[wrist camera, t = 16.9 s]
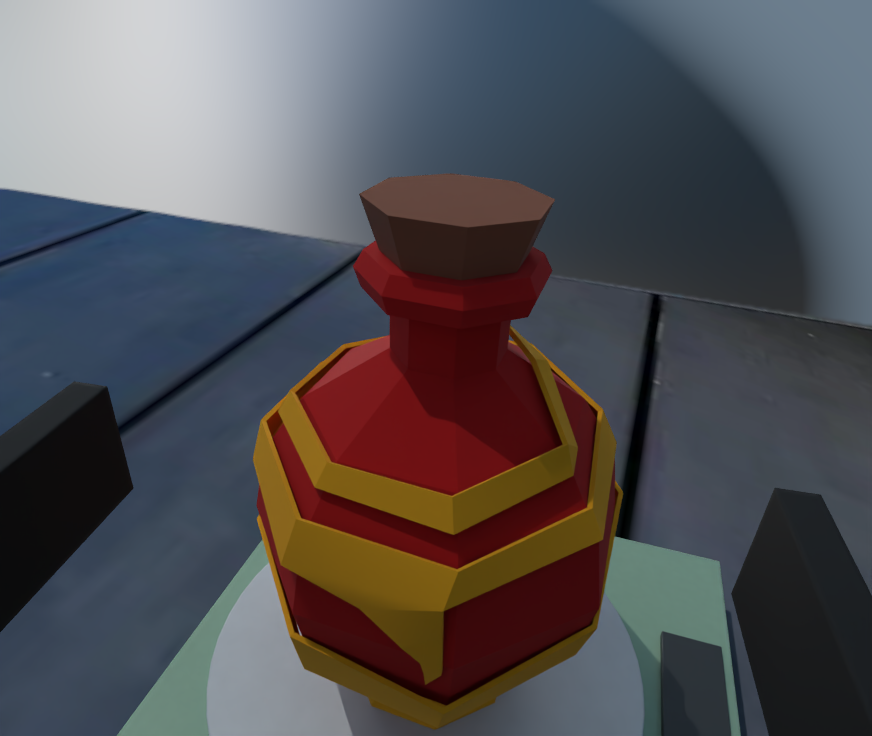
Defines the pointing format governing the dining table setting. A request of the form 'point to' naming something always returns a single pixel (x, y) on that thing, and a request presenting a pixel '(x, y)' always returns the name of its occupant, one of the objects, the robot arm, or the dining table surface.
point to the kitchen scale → (512, 711)
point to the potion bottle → (440, 468)
